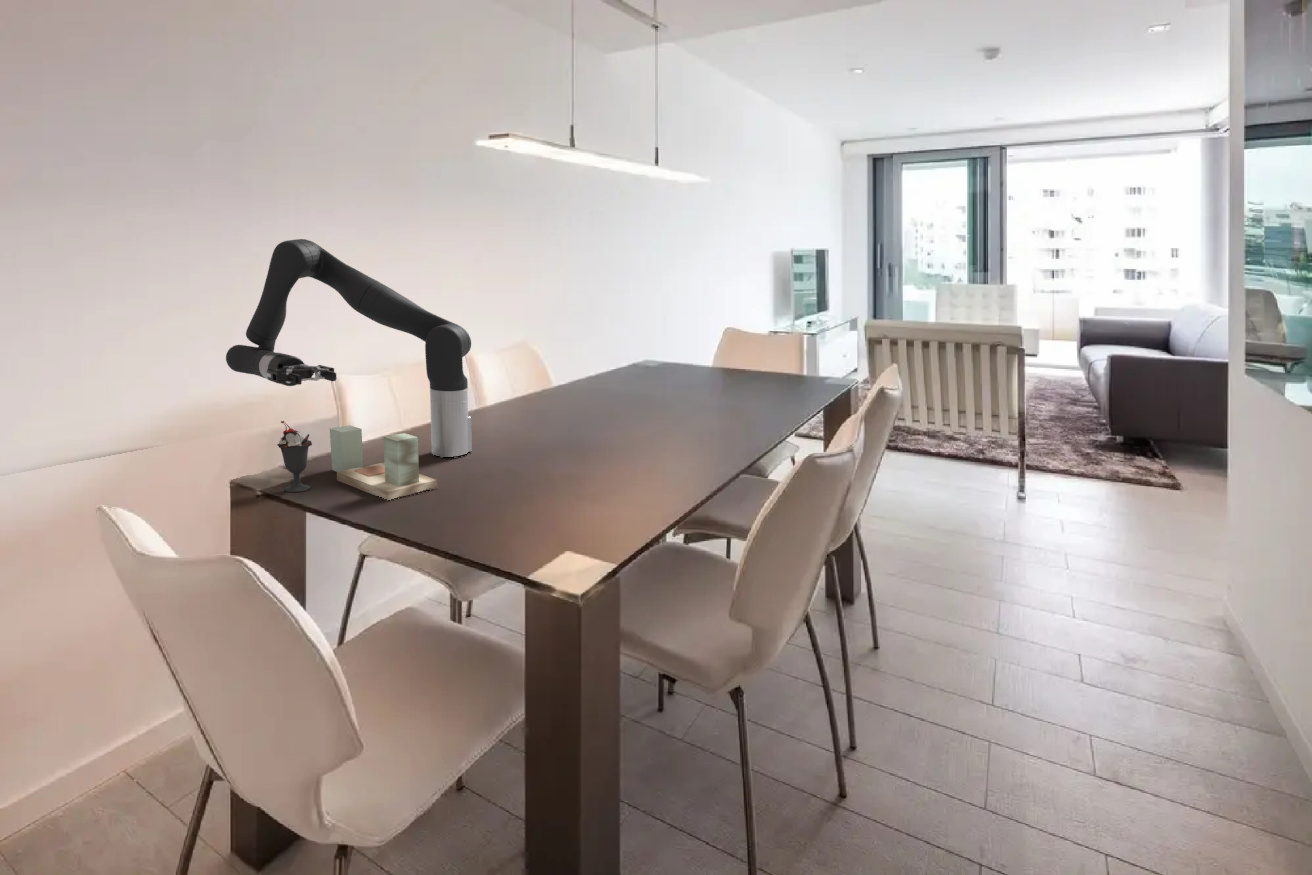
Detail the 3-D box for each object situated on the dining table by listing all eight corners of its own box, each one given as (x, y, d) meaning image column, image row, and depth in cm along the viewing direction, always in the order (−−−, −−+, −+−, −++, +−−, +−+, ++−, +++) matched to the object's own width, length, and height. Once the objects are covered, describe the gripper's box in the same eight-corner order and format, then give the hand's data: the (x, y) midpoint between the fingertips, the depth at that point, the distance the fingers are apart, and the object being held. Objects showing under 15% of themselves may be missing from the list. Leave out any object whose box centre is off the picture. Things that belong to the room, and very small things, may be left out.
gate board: (385, 470, 173) (383, 420, 170) (437, 488, 161) (435, 435, 159) (337, 480, 164) (334, 428, 161) (388, 500, 152) (386, 444, 149)
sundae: (274, 488, 156) (268, 420, 153) (305, 482, 161) (300, 416, 158) (289, 495, 152) (283, 425, 149) (320, 489, 157) (316, 421, 154)
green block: (352, 465, 175) (349, 425, 173) (363, 470, 172) (361, 428, 170) (332, 469, 172) (329, 428, 169) (343, 474, 169) (341, 432, 166)
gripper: (251, 355, 176) (287, 365, 167) (309, 351, 187) (345, 360, 178) (253, 386, 178) (288, 397, 168) (310, 380, 189) (346, 391, 180)
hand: (317, 378), depth 173 cm, fingers open, 8 cm apart
